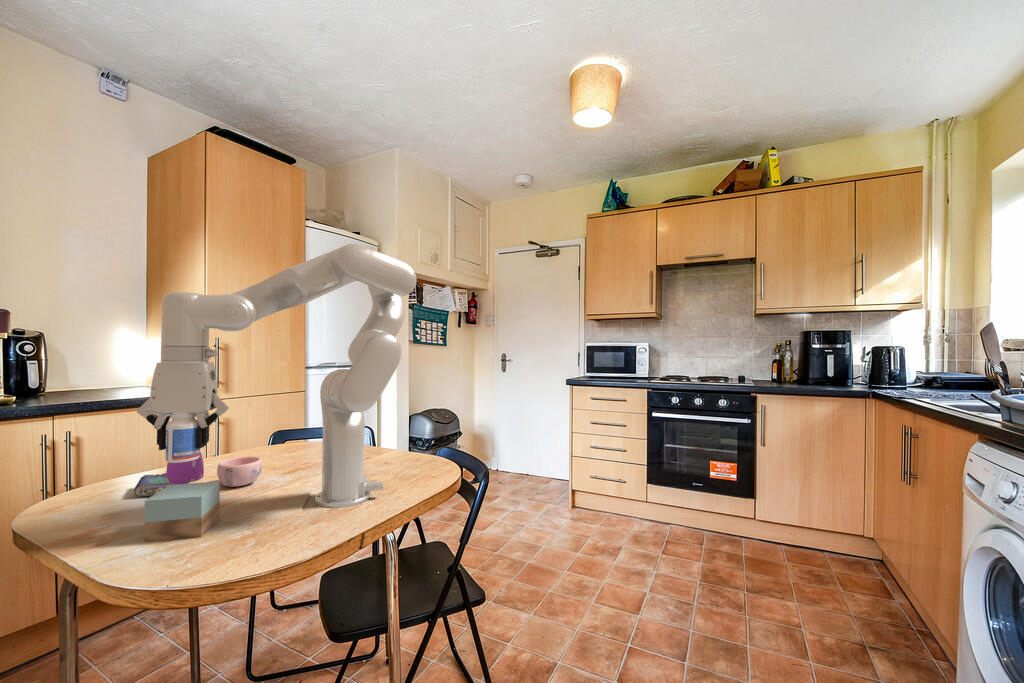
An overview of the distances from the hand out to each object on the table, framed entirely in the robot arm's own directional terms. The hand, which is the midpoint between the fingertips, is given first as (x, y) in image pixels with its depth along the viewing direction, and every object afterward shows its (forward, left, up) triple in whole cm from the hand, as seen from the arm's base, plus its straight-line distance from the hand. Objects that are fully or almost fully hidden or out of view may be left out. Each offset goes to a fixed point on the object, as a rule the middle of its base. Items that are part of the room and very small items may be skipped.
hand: (183, 446), depth 84 cm
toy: (+5, -13, -17) cm, 22 cm away
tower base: (0, 0, -17) cm, 17 cm away
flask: (+17, -31, -18) cm, 39 cm away
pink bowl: (-1, -30, -17) cm, 35 cm away
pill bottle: (0, 0, -3) cm, 3 cm away
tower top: (0, 0, -13) cm, 13 cm away
